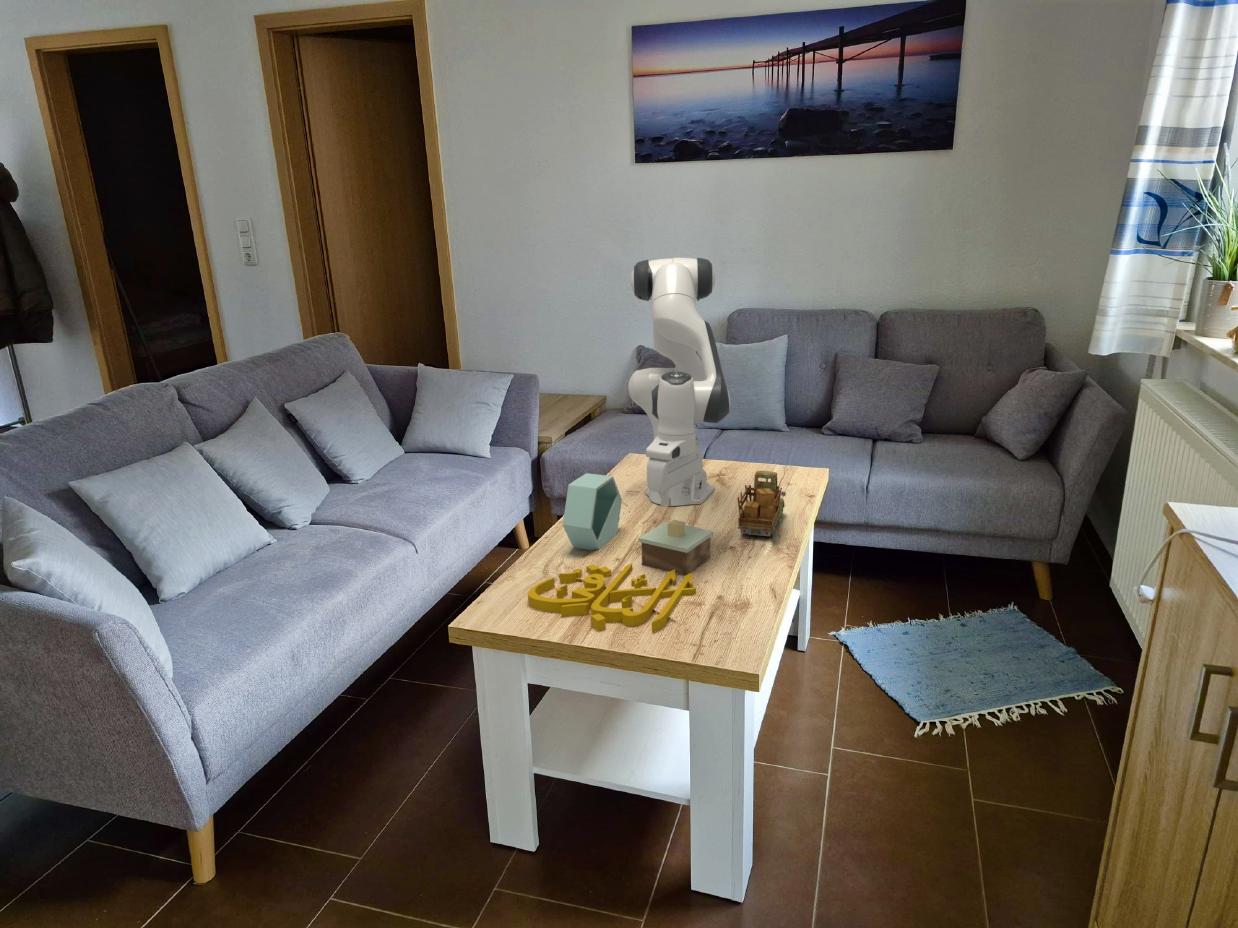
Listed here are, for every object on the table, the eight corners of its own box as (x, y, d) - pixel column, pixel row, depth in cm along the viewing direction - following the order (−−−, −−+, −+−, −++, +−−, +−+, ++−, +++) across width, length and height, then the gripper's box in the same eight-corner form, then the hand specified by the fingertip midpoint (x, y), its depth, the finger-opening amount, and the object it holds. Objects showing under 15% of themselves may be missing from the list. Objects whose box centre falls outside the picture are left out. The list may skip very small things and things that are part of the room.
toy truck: (789, 514, 237) (791, 462, 233) (775, 547, 215) (777, 491, 210) (751, 510, 241) (752, 460, 236) (734, 543, 218) (735, 487, 214)
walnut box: (667, 551, 213) (667, 525, 211) (710, 561, 206) (710, 535, 204) (642, 568, 203) (641, 541, 201) (685, 579, 197) (686, 551, 195)
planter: (605, 564, 218) (584, 515, 203) (578, 559, 221) (555, 511, 206) (626, 512, 227) (608, 462, 212) (600, 508, 230) (580, 458, 215)
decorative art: (511, 603, 181) (575, 552, 207) (512, 616, 182) (575, 563, 208) (658, 632, 168) (707, 574, 194) (659, 645, 169) (707, 585, 195)
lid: (666, 524, 212) (666, 509, 210) (713, 534, 205) (713, 519, 203) (638, 541, 201) (638, 526, 200) (686, 552, 194) (686, 536, 193)
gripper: (686, 432, 206) (686, 486, 210) (641, 451, 190) (642, 510, 193) (709, 435, 203) (708, 490, 206) (666, 455, 186) (666, 514, 190)
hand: (676, 500), depth 200 cm, fingers open, 8 cm apart
